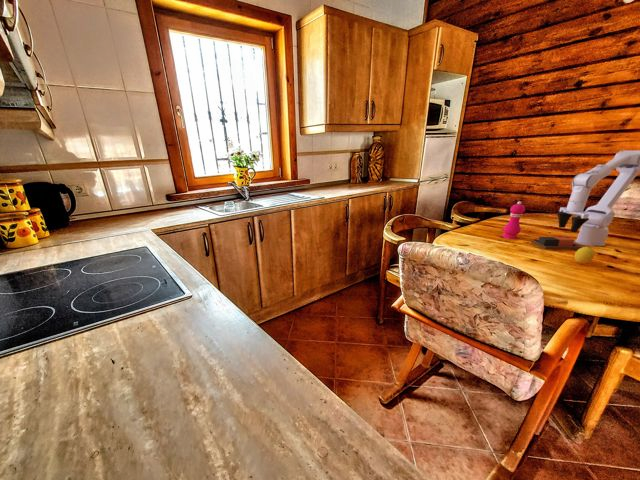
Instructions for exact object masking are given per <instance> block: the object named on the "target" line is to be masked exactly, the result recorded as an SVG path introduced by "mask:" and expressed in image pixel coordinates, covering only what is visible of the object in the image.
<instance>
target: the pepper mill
mask: <svg viewBox="0 0 640 480" xmlns="http://www.w3.org/2000/svg"><path fill="white" fill-rule="evenodd" d="M509 211H510V215H509V216H510V218H509V221H508V222H507V223H506V224H505V226H504V227H503V230H502V231H503V235H502V238H504V239H507V240H517V239H518V237H519V236H518V234H520V233H521V225H520V220H521V218H522V217H523V214H524V212H525V211H526V207H525V205H524V204H523V203H522V201H521V200H519V201H517V202H516V204H513V205H512V206H511V207H510V210H509Z"/></svg>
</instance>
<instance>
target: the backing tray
mask: <svg viewBox="0 0 640 480" xmlns="http://www.w3.org/2000/svg"><path fill="white" fill-rule="evenodd" d="M538 240H539V239H532V240H531V242H530V243H531V244H533V245H535V246H537V247H539V248H541V249H542V250H549V251H551V250H552V251H553V250H554V251H557V250H558V251H577V250H578V249H580V248H583V245H580V244H578V243H576V242H574V243H573V246H545V245H543V244H541V243H539V242H538Z"/></svg>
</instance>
